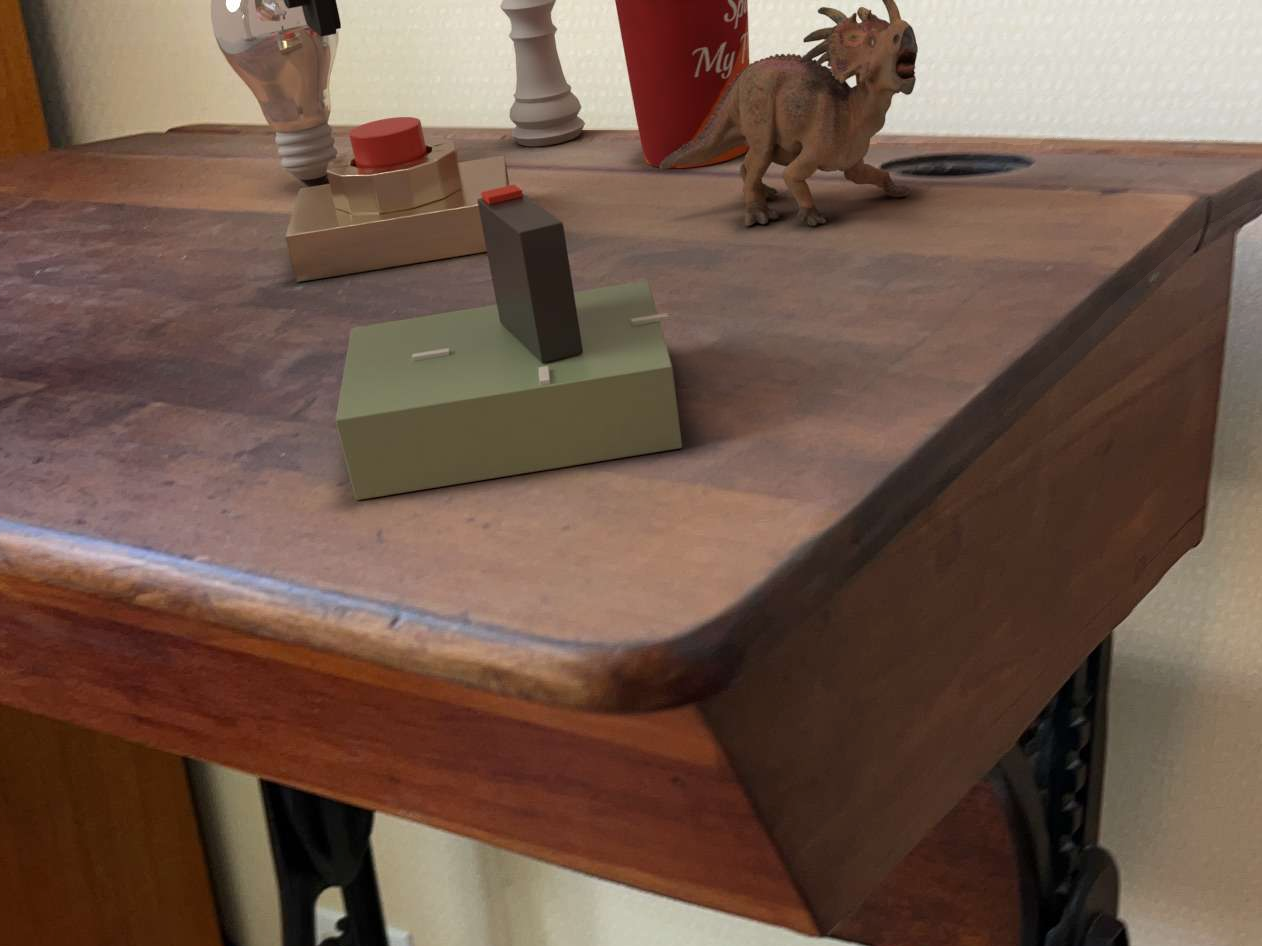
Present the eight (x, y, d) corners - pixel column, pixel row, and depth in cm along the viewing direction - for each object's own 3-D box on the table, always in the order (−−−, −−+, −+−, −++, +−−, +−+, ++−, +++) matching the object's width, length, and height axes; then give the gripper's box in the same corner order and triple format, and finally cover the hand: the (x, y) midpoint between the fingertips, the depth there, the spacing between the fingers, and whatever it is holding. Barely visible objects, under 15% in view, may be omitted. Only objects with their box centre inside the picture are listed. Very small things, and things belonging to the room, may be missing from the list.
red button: (355, 179, 81) (346, 141, 80) (359, 161, 84) (351, 124, 83) (427, 167, 81) (419, 129, 80) (428, 150, 84) (421, 112, 83)
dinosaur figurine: (964, 191, 79) (961, -31, 73) (920, 230, 75) (915, -1, 69) (710, 189, 85) (689, -17, 79) (658, 225, 81) (632, 12, 75)
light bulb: (392, 177, 95) (340, -65, 88) (282, 209, 93) (218, -37, 85) (346, 159, 100) (292, -71, 92) (240, 189, 98) (176, -45, 90)
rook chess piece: (572, 122, 100) (550, -29, 95) (596, 135, 97) (574, -21, 92) (503, 138, 99) (477, -14, 94) (524, 152, 96) (498, -5, 91)
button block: (297, 282, 82) (274, 196, 79) (310, 231, 88) (290, 151, 86) (515, 247, 81) (500, 160, 79) (512, 199, 88) (498, 117, 86)
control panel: (355, 500, 60) (333, 415, 58) (368, 401, 67) (349, 323, 65) (691, 447, 59) (681, 359, 57) (666, 354, 67) (656, 274, 65)
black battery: (583, 353, 60) (561, 214, 56) (542, 364, 59) (518, 225, 56) (539, 313, 64) (516, 182, 61) (499, 323, 63) (475, 191, 60)
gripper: (30, -709, 40) (226, 70, 51) (686, -773, 44) (738, -29, 55) (17, -660, 46) (196, 33, 57) (600, -719, 49) (663, -54, 60)
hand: (461, 2), depth 56 cm, fingers open, 9 cm apart
